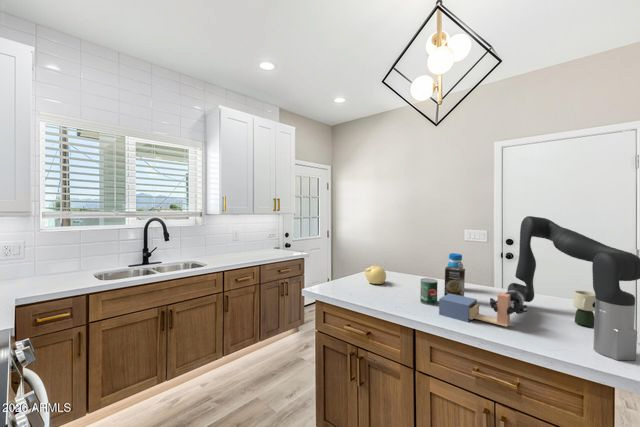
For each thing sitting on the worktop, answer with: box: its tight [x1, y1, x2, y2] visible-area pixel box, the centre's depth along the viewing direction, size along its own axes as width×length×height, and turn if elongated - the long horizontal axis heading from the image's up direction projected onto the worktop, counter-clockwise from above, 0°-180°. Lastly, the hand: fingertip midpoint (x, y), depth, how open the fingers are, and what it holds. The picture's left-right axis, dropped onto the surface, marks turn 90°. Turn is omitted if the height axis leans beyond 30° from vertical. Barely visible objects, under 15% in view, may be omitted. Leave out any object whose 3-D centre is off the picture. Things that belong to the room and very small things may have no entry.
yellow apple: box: [364, 265, 387, 285], centre depth 182 cm, size 11×12×11 cm
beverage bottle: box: [446, 252, 464, 269], centre depth 169 cm, size 8×8×20 cm
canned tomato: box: [419, 277, 439, 306], centre depth 147 cm, size 8×8×11 cm
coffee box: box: [443, 266, 466, 297], centre depth 150 cm, size 9×6×16 cm
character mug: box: [573, 290, 595, 328], centre depth 120 cm, size 11×7×13 cm, turn 135°
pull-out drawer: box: [469, 292, 511, 327], centre depth 125 cm, size 23×9×12 cm, turn 46°
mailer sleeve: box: [438, 293, 478, 323], centre depth 131 cm, size 12×11×7 cm
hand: (501, 310), depth 116 cm, fingers closed on pull-out drawer, 3 cm apart
